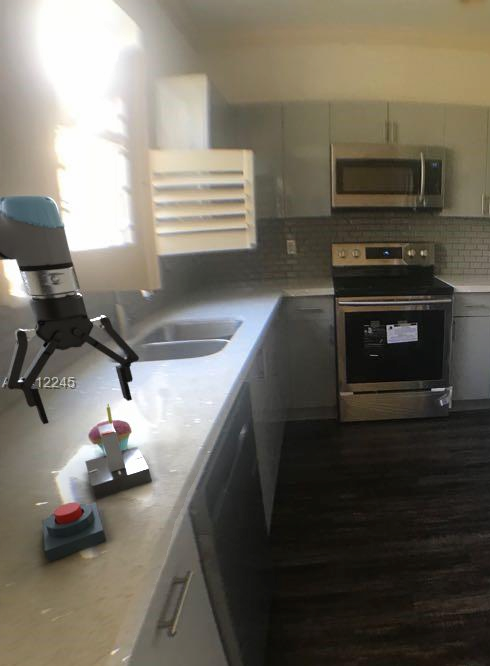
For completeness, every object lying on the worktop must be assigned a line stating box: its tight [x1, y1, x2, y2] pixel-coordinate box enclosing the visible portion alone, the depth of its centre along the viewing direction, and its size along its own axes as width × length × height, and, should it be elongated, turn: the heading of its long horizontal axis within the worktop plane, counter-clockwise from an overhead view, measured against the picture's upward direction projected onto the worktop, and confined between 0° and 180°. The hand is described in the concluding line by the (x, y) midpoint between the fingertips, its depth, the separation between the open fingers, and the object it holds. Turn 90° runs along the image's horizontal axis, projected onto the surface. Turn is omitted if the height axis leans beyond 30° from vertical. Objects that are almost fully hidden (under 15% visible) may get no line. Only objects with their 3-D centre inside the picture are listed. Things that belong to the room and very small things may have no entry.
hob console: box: [85, 446, 153, 500], centre depth 94 cm, size 12×10×3 cm
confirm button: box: [53, 501, 82, 524], centre depth 76 cm, size 4×4×2 cm
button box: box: [42, 501, 107, 563], centre depth 77 cm, size 10×8×4 cm
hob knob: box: [98, 423, 125, 472], centre depth 92 cm, size 6×3×8 cm, turn 37°
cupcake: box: [87, 403, 132, 455], centre depth 104 cm, size 9×8×12 cm
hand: (88, 409), depth 85 cm, fingers open, 13 cm apart
